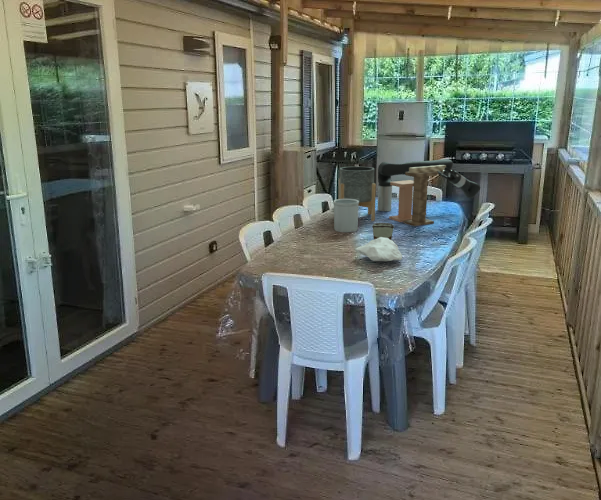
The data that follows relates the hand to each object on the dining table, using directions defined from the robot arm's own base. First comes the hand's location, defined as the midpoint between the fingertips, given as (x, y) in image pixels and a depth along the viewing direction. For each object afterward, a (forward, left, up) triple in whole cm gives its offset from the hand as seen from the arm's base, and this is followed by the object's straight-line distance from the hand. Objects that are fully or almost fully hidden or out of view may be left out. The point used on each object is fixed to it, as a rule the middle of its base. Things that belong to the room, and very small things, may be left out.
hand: (440, 167), depth 341 cm
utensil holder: (-59, -25, -34) cm, 72 cm away
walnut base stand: (-13, -7, -34) cm, 37 cm away
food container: (-40, -52, -34) cm, 73 cm away
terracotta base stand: (-20, +5, -34) cm, 40 cm away
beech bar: (-9, -5, -2) cm, 10 cm away
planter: (-51, +10, -34) cm, 62 cm away
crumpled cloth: (-45, -84, -34) cm, 102 cm away
